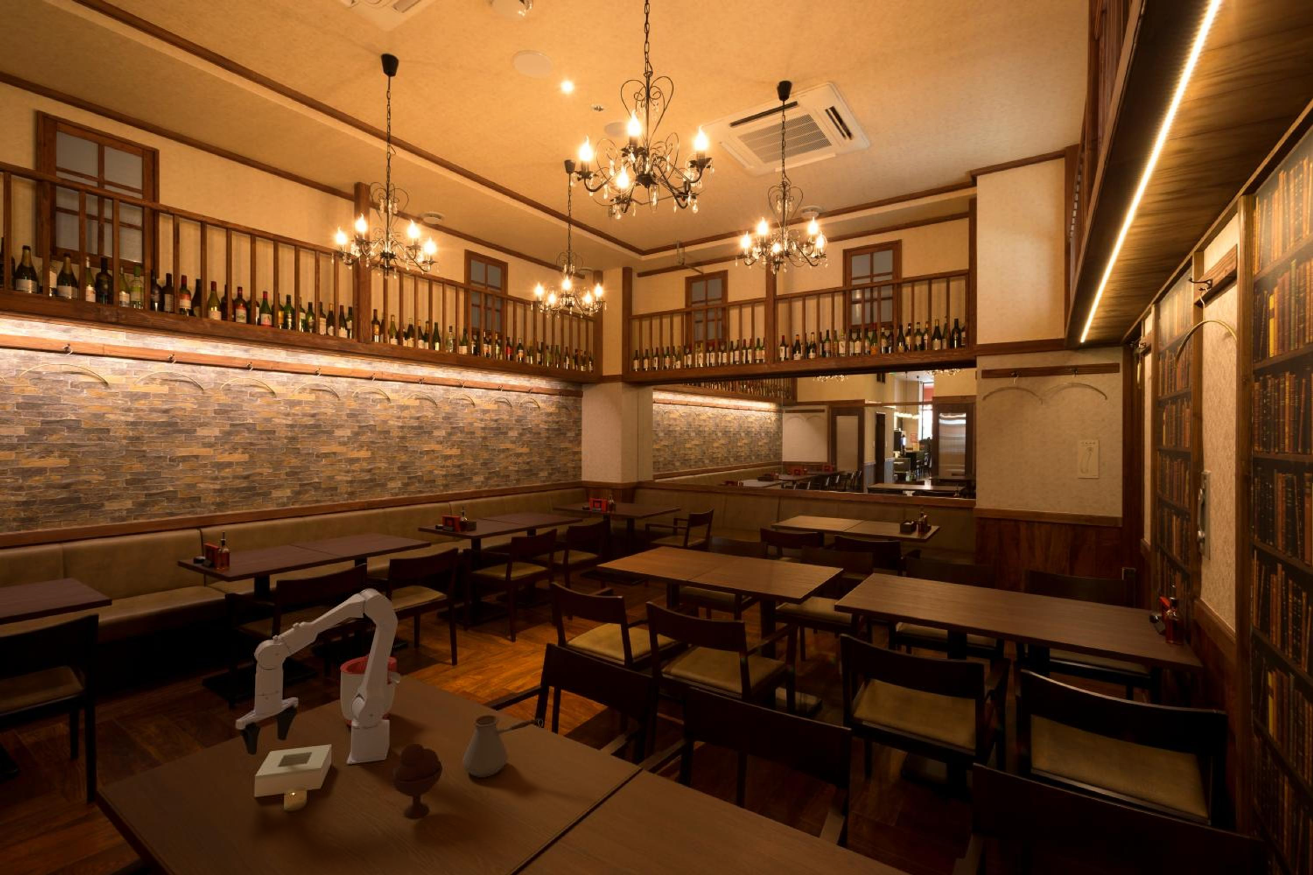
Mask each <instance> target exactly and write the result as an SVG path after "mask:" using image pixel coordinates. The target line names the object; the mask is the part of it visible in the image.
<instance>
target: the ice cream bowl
mask: <svg viewBox="0 0 1313 875" xmlns="http://www.w3.org/2000/svg"><path fill="white" fill-rule="evenodd" d="M399 762H400V764H399V765H397V766H396V767H395V768H394V769H393V770H392V771H391V774H392V780H393V781H392V782H393V786H394V788H395V790H397V791H398V792H399V793H400V794H402V795H405V796H407V797H411V798H412V803H411V804H408V805H407V806H406V807H405V808H404V810H403V816H404V817H405V818H408V819H418V818H421V817H424V816H425V815H426V814H427V813H428V812H429V811H430V809H429V805H428V804H427V803H426V802H423V801H421V800H422V799H421V796H422V795H425V794H426V793H428V792H429V791H430V790H431V789H432V788H433V787H434V786H436V784H437V783H438V782H439V780H440V779H441V776H442V773H443V766H442V762H441V761H440V760H439V756H438V754H437V752H436V751H434V750H433V749H431V748H424V746H423V744H419V743H409V744H408V745H407V746H405V747H403V750H402V751H401V752H400V754H399Z"/></svg>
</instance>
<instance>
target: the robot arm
mask: <svg viewBox="0 0 1313 875" xmlns="http://www.w3.org/2000/svg"><path fill="white" fill-rule="evenodd" d="M363 614H365V615H366V617H368V618H369V619H371V620H372V621H373V623H374V624H375V625H376V626H375V627H376V628H375V632H374V636H373V639H372V640H373V641H372V643H371V647H370V652H369V654H370V655H369V659H368V663H367V667H366V671H365V675H364V679H363V683H362V685H361V686H360V687H359V688H358V691H357V694H356V696H355V697H354V698H353V700H352V702H351V705H350V709H351V712H352V713H353V714H354V719H353V721H352V726H351V729H350V730H351V733H350V752H349V755H348V757H347V760H346V765H352V764H360V763H361V764H362V763H370V762H378V761H384V760H386V759H387V756H388V752H389V748H390V720H389V719H385V720H383V719H382V717H383V713H384V710H383V706H382V703H383V690H382V686H383V682H384V678H385V674H386V670H387V666H388V662H389V658H390V657H391V654H392V648H393V643H394V640H395V636H396V633H397V630H398V625H399V623H398V622H399V619H398V616H397V614H396V612H395V609H394V604H393V602H392V601H390V599H388V597H386V595H383V594H381V593H380V592H379V591H378V590H377V589H374V588H365V589H364V590H362V591H360V592H359V593H355V594H353V595H352V596H351V597H349V598H348V599H347V600H345V601H344V602H342V603H340V604H338V605H337V606H336V607H334V608H332V609H330V610H329V611H328V612H326V613H324V614H323V615H321V616H320V617H318V618H316V619H314V620H313V621H311V622H309V621H308V622H306V621H302V622H300V623H299V622H295V623H294V624H292V628H289V629H288V630H287V631H284V632H283V633H281V634H279V635H277V634H276V635H274V636H272V639H267V640H264V641H262V642H261V643H259V644H258V646H257V647H256V649H255V650H254V651H255V652H253V654H254V658H255V660H256V661H257V663H256V668H255V669H256V671H255V672H256V673H255V686H254V687H255V688H254V695H255V696H254V707H253V710H251V711H250V712H248V713H246V714H245V715H244V716H242V717H241V718H239V719H235V729H237V731H238V732H239V734H240V735H241V737H242V739H243V742H244V745H245V747H246V751H247V754H249V755H252V756H255V755H256V754H257V753H258V752H257V751H258V740H259V739H258V738H259V736H260V731H261V728H262V727H260V726H258V725H257V724H256V723H257V722H260V721H262V720H266V719H267V718H269V717H273V716H275V717H276V723H277V726H276V728H277V734H276V735H277V739H278V740H280V741H283V742H284V741H286V740H287V737H288V734H289V731H290V728H291V725H292V722H293V721H294V719H295V717H296V716H297V714H298V709H297V708H296V707H298V706H299V698H298V697H294V696H293V697H290V698H286V699H283V691H284V690H283V685H284V683H283V682H284V680H283V679H284V669H283V664H284V662H285V660H286V658H287V657H290V656H291V655H294V654H295V653H296V652H299V651H301V650H302V649H304V648H305V647H306V646H309V645H310V644H311V643H314V642H315V641H316V638H317V637H318V635H319V634H320V633H322V632H324V631H326V630H328V629H329V628H331V627H333V626H335V625H337V624H338V623H340V622H343V621H344V620H346V619H348V618H362V619H363V618H364V615H363Z"/></svg>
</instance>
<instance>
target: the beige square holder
mask: <svg viewBox="0 0 1313 875" xmlns="http://www.w3.org/2000/svg"><path fill="white" fill-rule="evenodd" d="M331 764H332V744H325V745H324V744H323V745H317V746H316V745H315V746H306V747H298V748H289V749H280V750H272V751H271V750H270V752H269V753H268V755H267V756H266V758H265V760H264V761H263V762H262V764H261V766H260V768H259V769H258V771H257V772H256V774H255V775H254V795H253V796H254V798H258V797H265V796H267V797H268V796H273V795H280V794H285V793H286V792H287V791H289V790H291V789H293V788H297V787H304V788H306V789H307V791H311V790H312V791H313V790H319V789H321V788H322V785H323V783H324V781H325V778H326V777H327V775H328V771H329V769H330V766H331Z"/></svg>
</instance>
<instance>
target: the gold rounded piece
mask: <svg viewBox="0 0 1313 875" xmlns="http://www.w3.org/2000/svg"><path fill="white" fill-rule="evenodd" d="M307 796H308V790H307V789H306V788H304V787H297V788H293V789H291V790H289V791H287V792H286V793H284V798H283V809H284V811H287V812H294V811H297V810H300V809H302V808H304V807H305V806H306V805H307V799H308V798H307Z"/></svg>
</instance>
